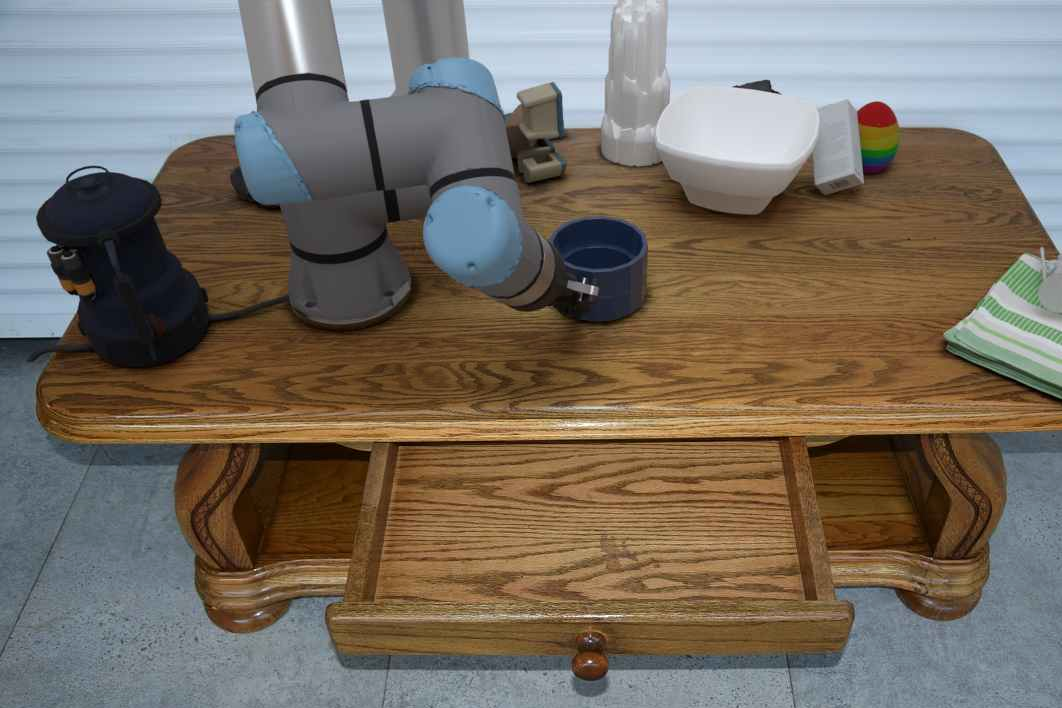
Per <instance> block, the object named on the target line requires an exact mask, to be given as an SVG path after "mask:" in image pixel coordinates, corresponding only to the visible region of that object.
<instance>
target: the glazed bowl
mask: <svg viewBox="0 0 1062 708" xmlns="http://www.w3.org/2000/svg"><path fill="white" fill-rule="evenodd" d="M647 239H648V238H647V235H646V234H645V233H644V232H643V231H642V230H641V229H640V228H639V227H638V226H637V225H635V224H633V223H631V222H629V221H627V220H624V219H622V218H617V217H610V216H605V215H599V216H598V215H597V216H585V217H584V216H583V217H580V218H575V219H573V220H570V221H567V222H565V223H563V224H562V225H560V226H558V227H557V228H555V229H554V230H553V232H552V234H551V235H550V236H549V239H547V240H548V241H549V242H550V243H551V244H553V245H554V246H555V247H556V248H557V250H558V251H559V252H560V254H561V256H562V258H563V261H564V264H565V268H566V271H567V272H568V273H571V274H573V275H574V276H575V277H576V279H577V282H580V283H581V280H582V278H587V279H588V278H593V277H594V278H598V280H601V284H600V289H599V293H598V298H597V303H596V304H593V305H591V308H590V312H582V311H581V316H580V318H575V317H573V318H574V319H578V320H583V321H588V322H606V321H607V322H608V321H615V320H618V319H621V318H623V317H627V316H630V315H631V314H633V313H634V312H635V311H637V310H638V309H639V308H640V307H642V304H644V301H645V298H646V297H647V288H648V287H647V285H648V264H649V263H648V262H649V261H648V259H649V244H648V240H647Z"/></svg>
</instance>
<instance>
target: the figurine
mask: <svg viewBox="0 0 1062 708" xmlns="http://www.w3.org/2000/svg"><path fill="white" fill-rule="evenodd" d="M1039 255H1040V258H1041V264H1042V268H1041V270H1040V273H1042V275H1043V282H1042V283H1041V285H1040V287H1039V290H1038V298H1039V301H1040V303H1041V304H1042V305H1043V307H1045V308H1046V309H1048V310H1049V311H1052V312H1056V313H1062V253H1059V254H1058V255H1057V257H1056V259H1051V260H1048V261H1049V263H1048V264H1045V260H1046V258H1045V248H1044V247H1043V246H1040V247H1039ZM1045 266H1046V267H1047V270H1046V267H1045ZM1054 270H1055V271H1054ZM1052 271H1054V274H1052V275H1050V274H1051V272H1052ZM1046 275H1050V276H1048V277H1047V278H1046Z"/></svg>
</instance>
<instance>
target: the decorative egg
mask: <svg viewBox="0 0 1062 708" xmlns="http://www.w3.org/2000/svg"><path fill="white" fill-rule="evenodd" d="M856 111H857V116H858V126H859V137H860V147H861V157H862V168H863V174H876V173H879V172H881V171H884V170H885V169H886V168H887V167H888V166H889V165H890V164H891V162H892V161H893V160H894V158H895V156H896V155H897V152H898V149H899V145H900V137H901V136H900V125H899V121H898V118H897V115H896V114H895V112H894V111H893V109H892V108H891V107H890V106H889V105H888V104H887V103H885V102H883V101H880V100H879V101H877V100H875V101H871V102H869V103H866V104H865V105H862V106H861V107H860V108H859V109H857V110H856Z"/></svg>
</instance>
